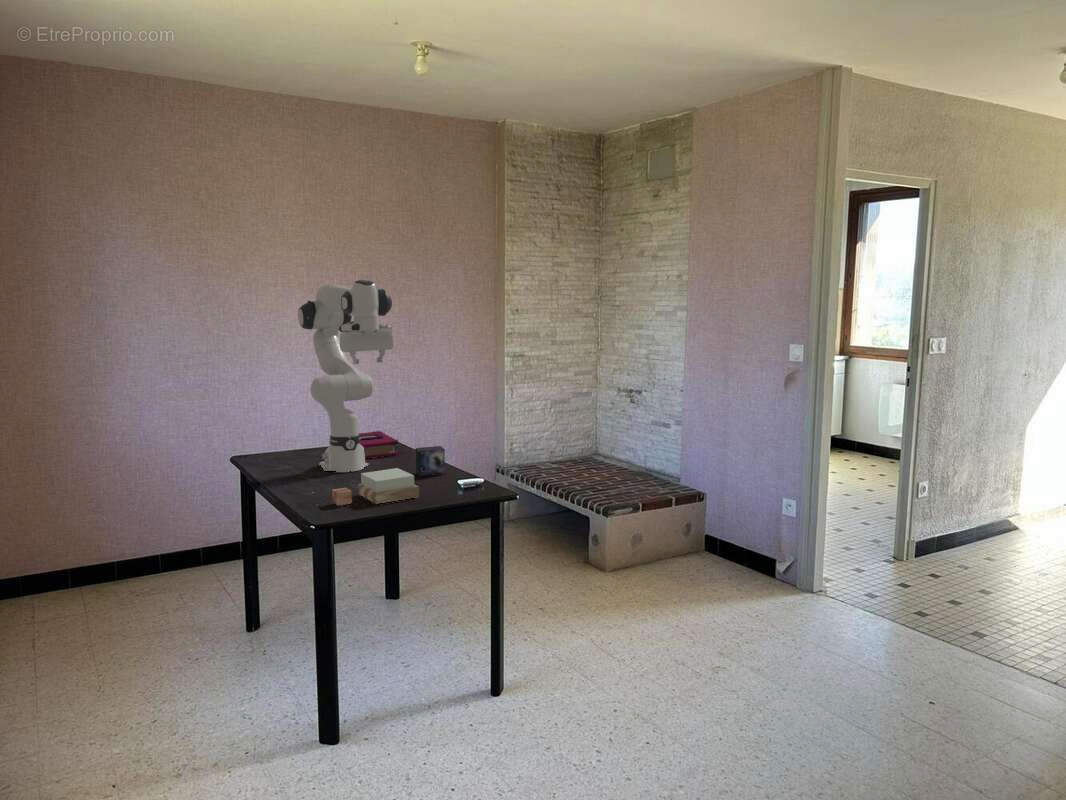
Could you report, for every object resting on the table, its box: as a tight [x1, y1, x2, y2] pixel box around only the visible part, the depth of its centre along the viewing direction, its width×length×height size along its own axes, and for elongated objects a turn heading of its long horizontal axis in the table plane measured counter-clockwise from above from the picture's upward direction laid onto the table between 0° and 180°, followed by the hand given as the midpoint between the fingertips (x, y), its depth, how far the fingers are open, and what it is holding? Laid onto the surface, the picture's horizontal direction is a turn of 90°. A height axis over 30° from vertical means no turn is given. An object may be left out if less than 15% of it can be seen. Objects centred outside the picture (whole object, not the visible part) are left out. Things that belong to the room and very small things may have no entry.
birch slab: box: [357, 483, 420, 505], centre depth 270 cm, size 16×16×4 cm
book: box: [359, 430, 400, 458], centre depth 345 cm, size 21×28×8 cm
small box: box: [415, 445, 446, 477], centre depth 303 cm, size 11×6×10 cm, turn 112°
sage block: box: [360, 467, 415, 493], centre depth 270 cm, size 14×14×4 cm
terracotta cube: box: [331, 487, 353, 506], centre depth 261 cm, size 5×5×5 cm
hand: (368, 363), depth 280 cm, fingers open, 8 cm apart
